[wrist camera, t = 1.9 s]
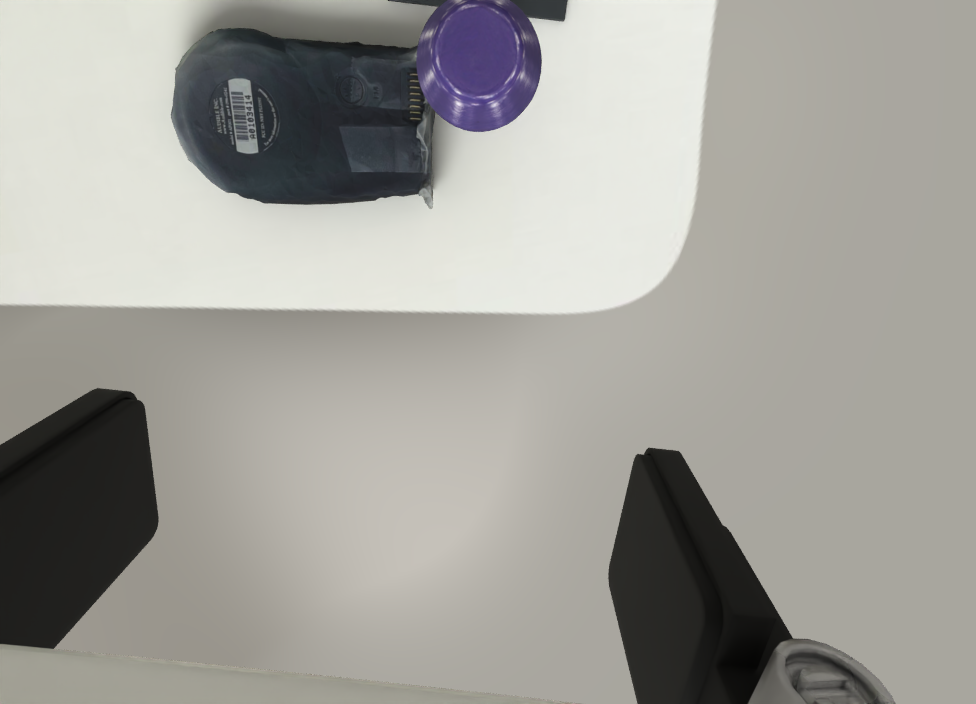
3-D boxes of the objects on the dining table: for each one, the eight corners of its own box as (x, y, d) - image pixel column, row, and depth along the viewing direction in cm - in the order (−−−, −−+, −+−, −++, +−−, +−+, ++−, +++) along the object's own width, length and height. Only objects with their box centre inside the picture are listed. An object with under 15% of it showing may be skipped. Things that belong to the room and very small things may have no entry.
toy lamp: (536, 59, 32) (568, -15, 16) (514, 142, 34) (525, 147, 18) (455, 36, 32) (410, -62, 16) (438, 121, 33) (382, 108, 18)
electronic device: (431, 34, 33) (165, 26, 31) (434, 32, 28) (119, 23, 26) (435, 193, 37) (202, 193, 36) (438, 215, 33) (169, 217, 31)
